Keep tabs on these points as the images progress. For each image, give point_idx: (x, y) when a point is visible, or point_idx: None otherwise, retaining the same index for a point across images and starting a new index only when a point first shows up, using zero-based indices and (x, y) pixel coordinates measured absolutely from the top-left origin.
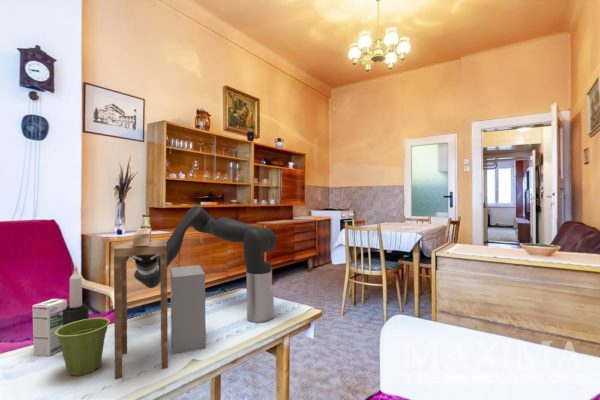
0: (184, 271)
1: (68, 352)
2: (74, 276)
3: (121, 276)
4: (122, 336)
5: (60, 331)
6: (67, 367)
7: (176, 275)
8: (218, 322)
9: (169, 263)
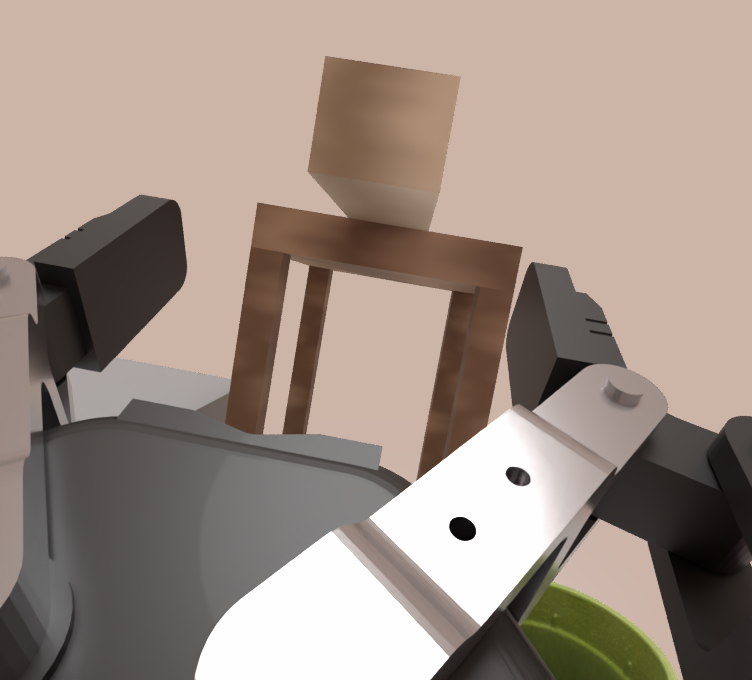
0: (140, 389)
1: (569, 667)
2: None
3: (439, 360)
4: None
5: (658, 677)
6: None
7: (220, 383)
8: None
9: None
